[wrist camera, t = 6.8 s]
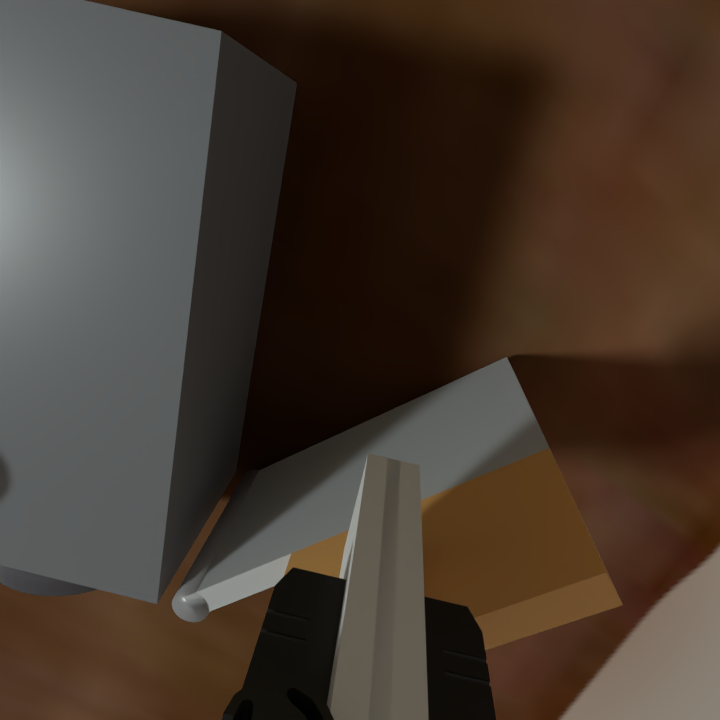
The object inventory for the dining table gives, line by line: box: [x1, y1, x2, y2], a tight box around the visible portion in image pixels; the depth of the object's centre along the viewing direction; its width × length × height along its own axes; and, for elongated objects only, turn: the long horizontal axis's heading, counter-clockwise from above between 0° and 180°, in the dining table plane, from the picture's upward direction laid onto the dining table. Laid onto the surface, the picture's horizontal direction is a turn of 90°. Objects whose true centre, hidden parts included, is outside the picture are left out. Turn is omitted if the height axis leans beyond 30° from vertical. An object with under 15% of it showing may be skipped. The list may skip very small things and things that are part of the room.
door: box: [172, 357, 622, 650], centre depth 18 cm, size 13×1×12 cm, turn 119°
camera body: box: [0, 0, 297, 604], centre depth 19 cm, size 18×10×9 cm, turn 168°
